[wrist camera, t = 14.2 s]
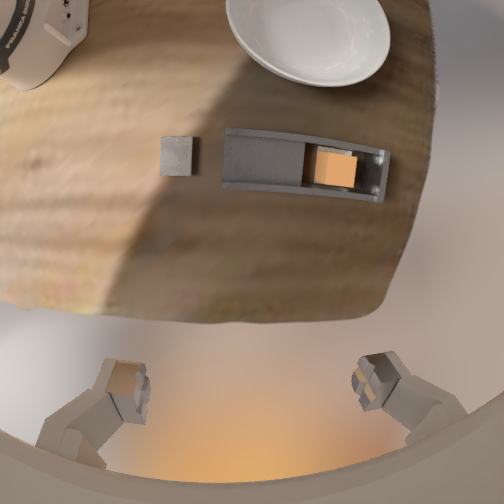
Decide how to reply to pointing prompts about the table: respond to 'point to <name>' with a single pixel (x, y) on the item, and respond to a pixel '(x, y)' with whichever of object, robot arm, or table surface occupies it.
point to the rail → (294, 164)
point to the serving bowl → (313, 38)
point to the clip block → (335, 169)
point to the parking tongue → (176, 156)
